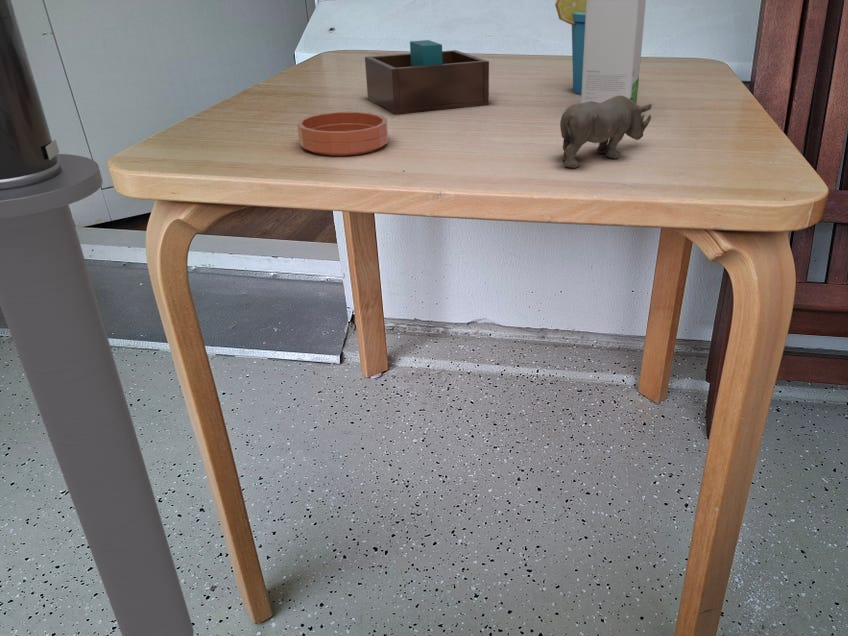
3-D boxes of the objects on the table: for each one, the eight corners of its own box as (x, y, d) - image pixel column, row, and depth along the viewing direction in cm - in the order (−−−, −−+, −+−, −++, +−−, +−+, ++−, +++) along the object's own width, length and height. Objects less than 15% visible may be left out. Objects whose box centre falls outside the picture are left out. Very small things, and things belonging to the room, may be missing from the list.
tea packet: (412, 95, 103) (409, 41, 99) (430, 93, 104) (428, 39, 100) (424, 101, 100) (422, 45, 96) (443, 99, 101) (442, 44, 97)
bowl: (313, 161, 77) (311, 136, 76) (291, 140, 84) (288, 116, 83) (400, 150, 81) (399, 126, 79) (371, 131, 88) (370, 108, 87)
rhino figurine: (663, 148, 82) (671, 91, 78) (574, 171, 74) (578, 109, 71) (635, 140, 84) (641, 85, 81) (546, 162, 77) (549, 101, 74)
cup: (617, 82, 114) (627, -28, 106) (650, 90, 108) (663, -25, 101) (541, 90, 108) (546, -25, 101) (572, 100, 103) (579, -21, 95)
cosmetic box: (628, 123, 91) (642, -19, 83) (575, 119, 93) (584, -20, 85) (637, 108, 98) (651, -24, 90) (587, 105, 100) (597, -25, 92)
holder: (394, 114, 95) (391, 69, 93) (367, 98, 104) (364, 56, 101) (488, 104, 100) (489, 61, 98) (456, 90, 109) (455, 50, 106)
